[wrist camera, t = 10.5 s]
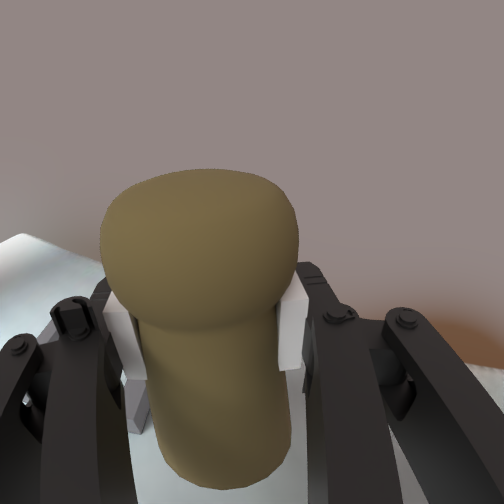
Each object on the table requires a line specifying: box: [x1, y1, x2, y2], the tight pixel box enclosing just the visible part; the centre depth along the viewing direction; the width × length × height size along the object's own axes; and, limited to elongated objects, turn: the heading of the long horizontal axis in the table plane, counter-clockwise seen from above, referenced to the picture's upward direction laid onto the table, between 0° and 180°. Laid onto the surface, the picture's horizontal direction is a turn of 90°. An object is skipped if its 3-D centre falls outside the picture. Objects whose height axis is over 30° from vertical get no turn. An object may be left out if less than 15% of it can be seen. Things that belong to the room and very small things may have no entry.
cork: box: [100, 169, 299, 490], centre depth 10 cm, size 6×6×11 cm
